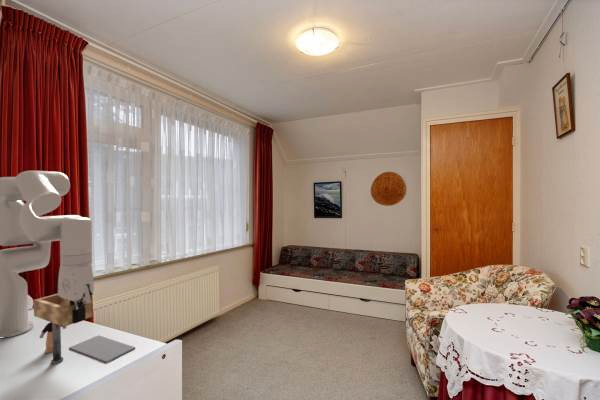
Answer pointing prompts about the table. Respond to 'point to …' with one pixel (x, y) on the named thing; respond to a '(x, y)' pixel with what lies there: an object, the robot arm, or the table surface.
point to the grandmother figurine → (48, 337)
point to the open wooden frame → (57, 310)
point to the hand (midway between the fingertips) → (77, 320)
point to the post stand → (56, 344)
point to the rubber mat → (102, 348)
